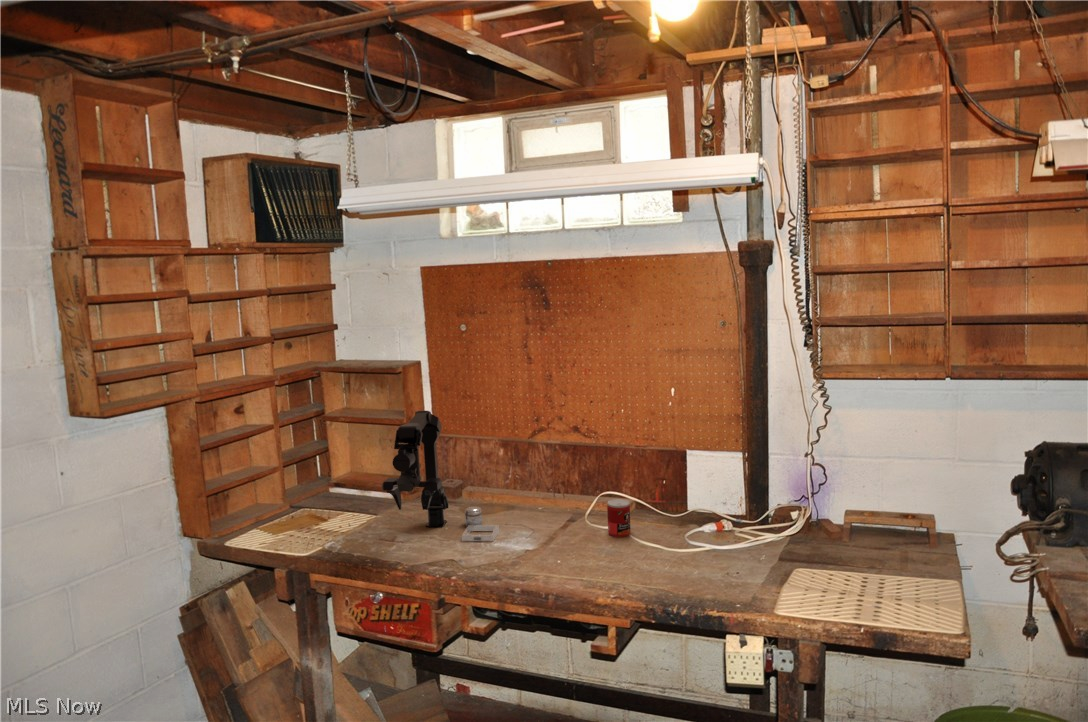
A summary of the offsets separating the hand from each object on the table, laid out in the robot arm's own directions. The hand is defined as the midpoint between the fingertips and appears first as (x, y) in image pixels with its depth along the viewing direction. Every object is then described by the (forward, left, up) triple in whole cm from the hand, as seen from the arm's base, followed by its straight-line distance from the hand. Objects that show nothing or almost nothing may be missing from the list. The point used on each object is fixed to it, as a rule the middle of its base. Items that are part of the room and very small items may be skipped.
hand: (413, 509), depth 263 cm
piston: (-28, +14, -15) cm, 34 cm away
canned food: (-19, +67, -15) cm, 71 cm away
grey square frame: (-16, +19, -14) cm, 28 cm away
